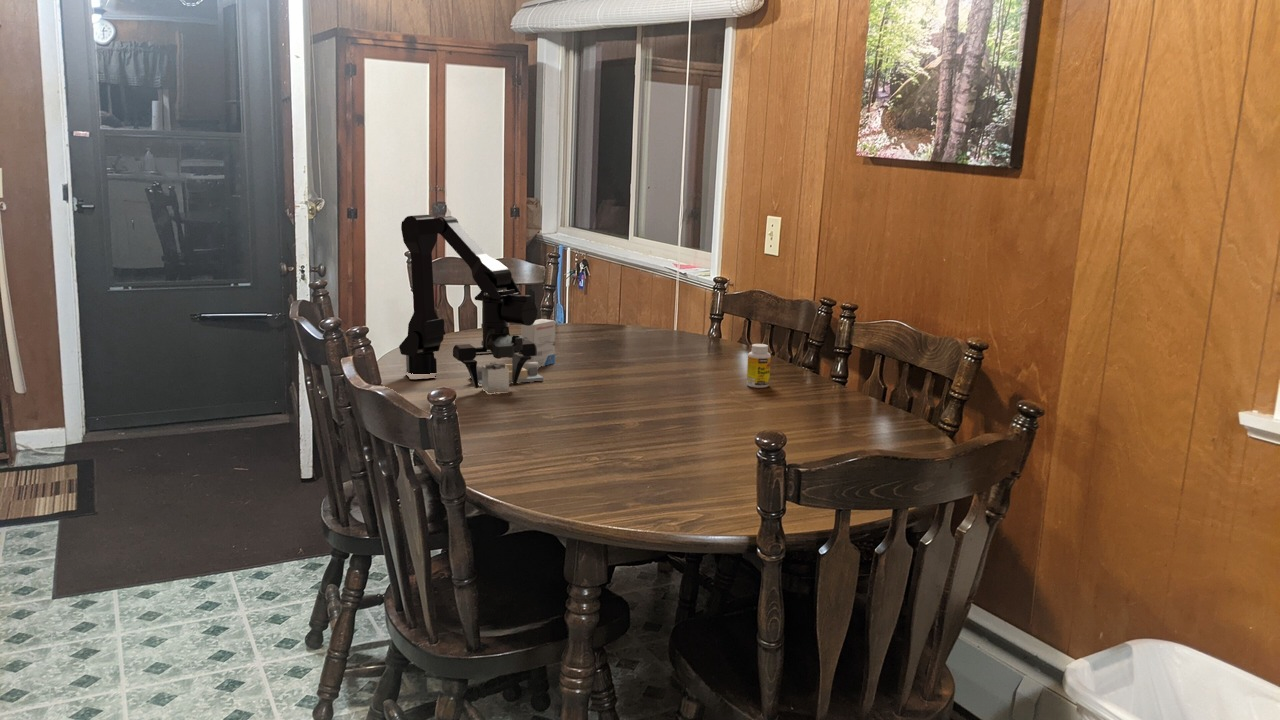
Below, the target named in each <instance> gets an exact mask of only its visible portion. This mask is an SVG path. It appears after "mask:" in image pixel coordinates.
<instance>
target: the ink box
mask: <svg viewBox="0 0 1280 720" xmlns="http://www.w3.org/2000/svg"><path fill="white" fill-rule="evenodd" d="M556 323H557V322H556V320H552V319H545V318H539V319H536V320H535V322H534V323H533V324H532V325H530V326H527V325H521V326H520V332H521V333H520V335H521V336H522V340H523V341H525V340H528V341H530V342H532V343H534V344H535V345H536V347H537V355H536V356H530V357H531V359H530V360H527V361H526V362H538V365H539V366H542V367H545V366H544V365H547V366H549V364H551V365H554V364H553V363H556V361H555V360H556ZM526 362H525V363H526Z"/></svg>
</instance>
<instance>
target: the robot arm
mask: <svg viewBox="0 0 1280 720" xmlns="http://www.w3.org/2000/svg"><path fill="white" fill-rule="evenodd" d="M400 225H401V229H400V230H401V236H402V240H403V243H404V245H405V247H406V248H407V250H408V251H409V253H410V266H411V285H412V298H413V300H412V301H413V312H412V313H413V314H412V316H411V318H410V320H409V322H408V325H407V327H408V328H407V335H406V337H405V339H404V340H403V341H402V342H401V343H400V344H399V345H398V347H399V353H400V355H403V356H405V357H406V358H405V359H406V360H405V361H406V362H405V363H406V373H407V372H408V373H411V374H412V373H413V374H430V373H438V371H437V369H438V368H437V358H436V357H435V352H439V351H440V348H441V345H442V342H443V341H444V339H445V336H444V335H446V331H445V319H444V318H443V317H441V318H440V317H439V316H438V314H437V313H436V309H435V307H436V306H435V294H434V293H435V289H434V274H433V273H434V271H433V250H434V248H435V247H436V246H435V245H436V244H437V241H438V235H440V236H441V237H442V238H443V239H444V240H445V241H446V242H447V244H448V245H449V246H450V247H451V248H452V249H453V250H454V252H456V254H457V255H458V256H459V257H460V258H461V259H462V261H463V262H464V263H465V264H466V265H467V266H468V268H469V269H470V271H471V276H472V280H473V281H474V282H475V284H476V285H477V287H478V288H479V290H480V292H479V293H478V294H477V295H476V296H474V300H475V301H479V302H480V301H481V305H482V308H481V310H482V311H481V312H482V313H481V314H482V316H481V317H482V321H481V322H482V323H481V324H480V325H481V328H480V329H482V340H481V347H475V346H473V345H472V344H470V343H463V344H455V345H454V346H453V348H452V357H453V358H454V359H456V360H457V361H459V362H461V363H462V364H464V365H465V367H466V369H467V371H468V373H469V377H470V376H471V379H472V380H471V379H470V380H471V381H472V384H473V386H474V388H475V389H478V388H479V387H478V386H479V385H478V378H477V368H476V367H477V366H478V361H477V360H476V358H477V356H488V355H489V356H491V355H492V357H493V358H495V359H497V360H498V359H504V358H509V359H511V358H512V360H511V362H512V363H511V364H512V381H513V384H512V385H513V386H516V385H517V384H516V383H517V380H518V377H519V374H520V372H521V369H522V367H523V365H524V363H525V362H526V361H527V360H530V359H531V357H530V356H536V355H537V347H536V345H535V344H534V343H532V342H530V341H528V340H525V341H523V340H522V336H521V334H516V335H515V334H514V335H511V334H510V326H508V324H514V325H527V326H530V325H532V324H533V323H534V322H535V320H537V318H538V317H537V316H538V308H537V305H536V303H535V302H534V301H533V300H532V295H530V294H525V295H523V294H522V293H521V291H520V289H519V287H518V286H517V284H516V282H515V280H514V278H513V277H512V271H511V270H510V269H509V268H508V267H507V266H506V265H504V264H503V263H502V262H501V261H500V260H497V259H495V258H493V257H491V256H489V255H488V254H487V253H486V252H485V251H484V250H483V249H482V248H481V247H480V246H479V244H478V243H477V242H476V241H475V240H474V239H473V238H472V237H471V236H470V235H469V234H468V232H467V231H466V230H465V228H463V227H462V226H461V225H460V224H459V220H458V219H457V218H456V217H454V216H451V215H450V216H439V217H436V218H434V216H432V215H430V214H417V215H408V216H406V217H405V218H404V219H403V220H402V221H401V223H400Z"/></svg>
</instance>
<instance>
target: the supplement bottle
mask: <svg viewBox="0 0 1280 720" xmlns="http://www.w3.org/2000/svg"><path fill="white" fill-rule="evenodd" d="M771 358H772V357H771V353H770V352H769V345H768V344H765V343H754V344H751V351H750V352H748V354H747V367H746V368H747V369H746V385H747V386H748V387H750V388H754V389H755V388H756V389H759V388H760V389H764V388H767V387H769V385H770V376H771V375H770V374H771V360H772V359H771Z"/></svg>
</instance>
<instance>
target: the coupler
mask: <svg viewBox="0 0 1280 720" xmlns="http://www.w3.org/2000/svg"><path fill="white" fill-rule="evenodd" d="M505 364H506V363H504V362H503V363H501V362H500V363H497V362H489V364H485V365H481V366H482V386H481V389H482V388H483V389H484V390H485V391H487V392H488V393H494V392H495V393H496V392H509V393H510V384H509V368H507V367H506V366H505Z"/></svg>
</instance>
